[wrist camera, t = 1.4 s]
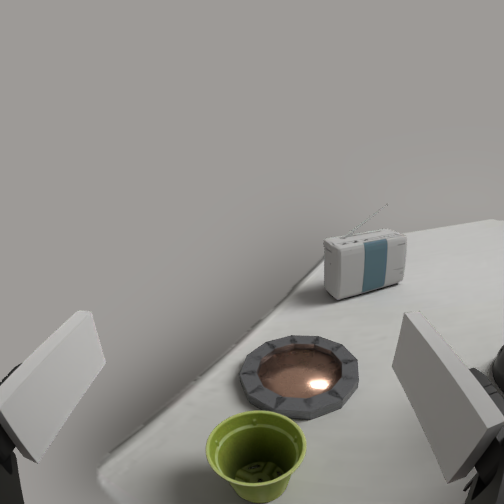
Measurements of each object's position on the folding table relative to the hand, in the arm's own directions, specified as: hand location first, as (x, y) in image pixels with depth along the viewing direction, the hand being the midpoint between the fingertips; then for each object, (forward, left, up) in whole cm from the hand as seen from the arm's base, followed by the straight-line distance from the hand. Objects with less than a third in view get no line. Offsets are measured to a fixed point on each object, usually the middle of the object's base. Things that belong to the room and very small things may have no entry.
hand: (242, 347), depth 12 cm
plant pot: (+2, -7, -26) cm, 27 cm away
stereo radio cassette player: (-13, -60, -26) cm, 67 cm away
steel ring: (0, -27, -26) cm, 37 cm away
